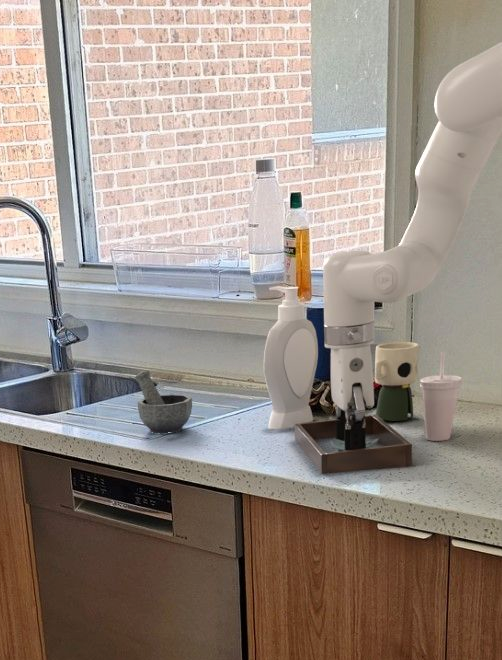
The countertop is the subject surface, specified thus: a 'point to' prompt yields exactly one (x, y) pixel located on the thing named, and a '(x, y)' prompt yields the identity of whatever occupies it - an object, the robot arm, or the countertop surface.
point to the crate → (388, 456)
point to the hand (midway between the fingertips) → (350, 447)
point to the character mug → (395, 379)
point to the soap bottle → (290, 363)
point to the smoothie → (439, 403)
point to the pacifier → (340, 443)
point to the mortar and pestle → (162, 407)
